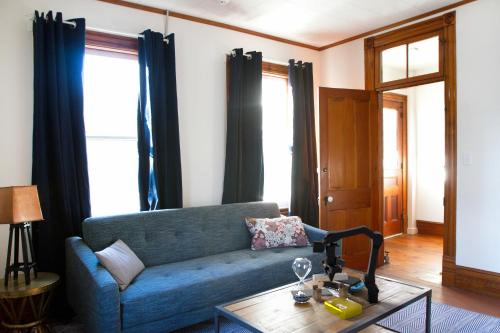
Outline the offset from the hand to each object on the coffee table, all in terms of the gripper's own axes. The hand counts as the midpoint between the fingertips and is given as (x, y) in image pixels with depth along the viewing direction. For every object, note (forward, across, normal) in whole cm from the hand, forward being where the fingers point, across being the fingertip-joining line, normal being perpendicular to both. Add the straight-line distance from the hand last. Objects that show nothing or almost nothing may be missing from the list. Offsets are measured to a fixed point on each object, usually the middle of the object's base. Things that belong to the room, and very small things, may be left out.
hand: (330, 280), depth 214 cm
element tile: (+11, -16, 0) cm, 20 cm away
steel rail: (0, 0, 0) cm, 0 cm away
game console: (+8, +19, -20) cm, 28 cm away
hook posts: (+11, 0, 0) cm, 11 cm away
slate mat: (+11, +9, +8) cm, 16 cm away
